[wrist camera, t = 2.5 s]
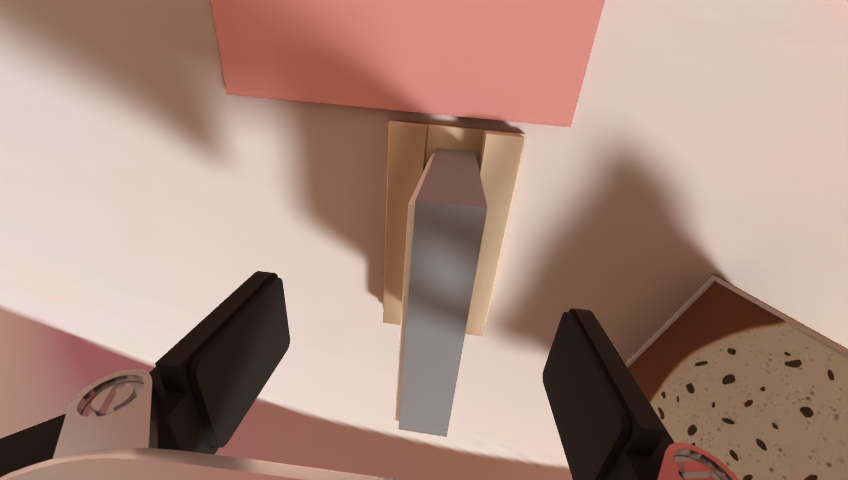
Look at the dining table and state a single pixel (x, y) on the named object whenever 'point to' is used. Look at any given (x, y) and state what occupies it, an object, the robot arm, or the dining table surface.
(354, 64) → the mat
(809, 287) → the dining table surface
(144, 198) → the dining table surface
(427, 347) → the grey square slab
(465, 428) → the dining table surface
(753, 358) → the half round cake
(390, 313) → the stand
